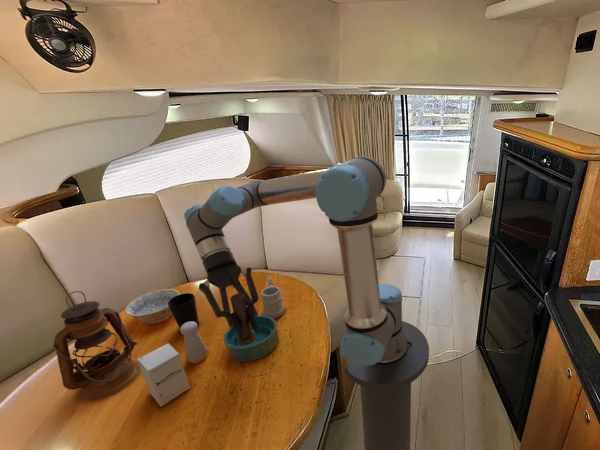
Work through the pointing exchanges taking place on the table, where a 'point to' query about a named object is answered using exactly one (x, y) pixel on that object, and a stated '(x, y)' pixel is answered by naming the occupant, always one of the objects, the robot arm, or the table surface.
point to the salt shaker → (193, 343)
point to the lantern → (102, 367)
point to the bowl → (152, 306)
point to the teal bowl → (259, 347)
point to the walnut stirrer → (242, 319)
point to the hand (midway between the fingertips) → (249, 333)
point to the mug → (272, 301)
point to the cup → (184, 309)
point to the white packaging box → (164, 373)
